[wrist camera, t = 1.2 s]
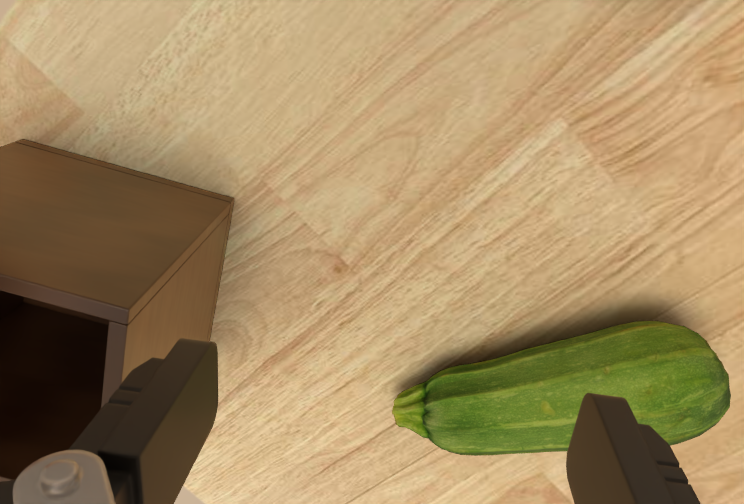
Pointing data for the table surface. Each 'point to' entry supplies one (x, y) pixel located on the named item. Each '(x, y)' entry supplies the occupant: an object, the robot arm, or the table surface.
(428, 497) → the table surface
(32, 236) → the chest
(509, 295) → the table surface
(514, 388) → the vegetable
